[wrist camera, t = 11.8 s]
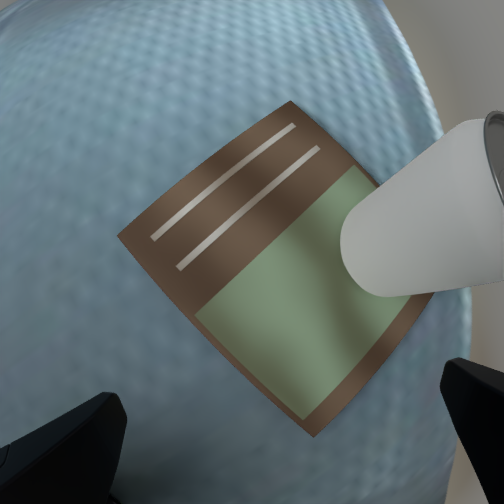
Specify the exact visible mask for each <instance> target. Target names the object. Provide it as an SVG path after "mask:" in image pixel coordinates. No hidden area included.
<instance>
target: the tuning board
mask: <svg viewBox="0 0 504 504" xmlns="http://www.w3.org/2000/svg"><path fill="white" fill-rule="evenodd" d="M378 187H380V186H379V184H378V183H377V182H376V181H375V180H374V179H373V178H372V177H371V176H370V175H369V174H368V173H367V172H366V171H365V170H364V169H363V167H362V166H361V165H360V164H359V163H358V162H357V161H356V160H355V159H354V158H353V157H352V156H351V155H350V154H349V153H348V152H347V151H346V150H345V149H344V148H343V147H342V146H341V145H339V144H338V143H337V142H336V141H335V140H334V139H333V138H332V137H331V136H330V135H329V134H328V133H327V132H326V131H325V130H324V129H322V128H321V127H320V126H319V125H318V124H317V123H316V122H315V121H314V120H313V119H311V118H310V117H309V116H308V115H307V114H306V113H305V112H303V111H302V110H301V109H300V108H299V107H298V106H296V105H295V104H294V103H293V102H292V101H291V100H290V101H289V102H287V103H286V104H284V105H283V106H281V107H280V108H278V109H277V110H275V111H274V112H272V113H271V114H269V115H268V116H266V117H265V118H263V119H262V120H260V121H259V122H257V123H256V124H254V125H253V126H252V127H250V128H249V129H247V130H246V131H245V132H243V133H242V134H240V135H239V136H238V137H236V138H235V139H233V140H232V141H231V142H229V143H228V144H227V145H225V146H224V147H223V148H221V149H220V150H219V151H217V152H216V153H215V154H213V155H212V156H211V157H209V158H208V159H207V160H205V161H204V162H203V163H202V164H200V165H199V166H198V167H196V168H195V169H194V170H193V171H191V172H190V173H189V174H188V175H186V176H185V177H184V178H183V179H181V180H180V181H179V182H178V183H176V184H175V185H174V186H173V187H172V188H170V189H169V190H168V191H167V192H166V193H164V194H163V195H162V196H161V197H160V198H159V199H157V200H156V201H155V202H154V203H153V204H152V205H150V206H149V207H148V208H147V209H146V210H145V211H143V212H142V213H141V214H140V215H139V216H138V217H137V218H136V219H134V220H133V221H132V222H131V223H130V224H129V225H128V226H127V227H126V228H125V229H123V230H122V231H121V232H120V233H119V234H118V235H117V237H118V238H119V239H120V240H121V242H122V243H123V244H124V245H125V247H126V248H127V249H128V250H129V252H130V253H131V254H132V255H133V257H134V258H135V259H136V260H137V261H138V263H139V264H140V265H141V266H142V267H143V269H144V270H145V271H146V272H147V273H148V274H149V276H150V277H151V278H152V279H153V280H154V281H155V283H156V284H157V285H158V286H159V287H160V288H161V290H162V291H163V292H164V293H165V294H166V295H167V296H168V297H169V299H170V300H171V301H172V302H173V303H174V304H175V305H176V306H177V307H178V309H179V310H180V311H181V312H182V313H183V314H184V315H185V316H186V317H187V318H188V319H189V320H190V322H191V323H192V324H193V325H194V326H195V327H196V328H197V329H198V330H199V331H200V332H201V333H202V334H203V335H204V336H205V337H206V338H207V339H208V340H209V341H210V343H211V344H212V345H213V346H214V347H215V348H216V349H217V350H218V351H219V352H220V353H221V354H222V355H223V356H224V357H225V358H226V359H227V360H228V361H229V362H230V363H231V364H232V365H233V366H234V367H235V368H237V369H238V370H239V371H240V372H241V373H242V374H243V375H244V376H245V377H246V378H247V379H248V380H249V381H250V382H251V383H252V384H253V385H254V386H255V387H256V388H258V389H259V390H260V391H261V392H262V393H263V394H264V395H265V396H266V397H267V398H268V399H270V400H271V401H272V402H273V403H274V404H275V405H276V406H277V407H278V408H280V409H281V410H282V411H283V412H284V413H285V414H286V415H288V416H289V417H290V418H291V419H292V420H293V421H294V422H296V423H297V424H298V425H299V426H300V427H302V428H303V429H304V430H305V431H306V432H307V433H309V434H310V435H311V436H312V437H315V436H316V435H317V434H318V433H319V432H320V431H321V430H322V429H323V428H324V427H325V426H326V425H327V424H329V423H330V422H331V421H332V420H333V419H334V418H335V417H336V415H337V414H338V413H339V412H340V411H341V410H342V409H343V408H344V407H345V406H346V405H347V404H348V403H349V402H350V401H351V400H352V399H353V398H354V397H355V395H356V394H357V393H358V392H359V391H360V390H361V389H362V388H363V387H364V385H365V384H366V383H367V382H368V381H369V380H370V379H371V377H372V376H373V375H374V374H375V373H376V371H377V370H378V369H379V368H380V367H381V365H382V364H383V363H384V362H385V361H386V359H387V358H388V357H389V356H390V354H391V353H392V352H393V350H394V349H395V348H396V347H397V345H398V344H399V343H400V341H401V340H402V339H403V337H404V336H405V335H406V333H407V332H408V331H409V329H410V328H411V326H412V325H413V324H414V322H415V321H416V319H417V318H418V317H419V315H420V314H421V312H422V311H423V309H424V308H425V306H426V305H427V303H428V302H429V300H430V299H431V297H432V296H433V294H434V293H435V292H430V293H423V294H415V295H406V296H397V297H380V296H376V295H373V294H371V293H369V292H367V291H365V290H364V289H362V288H361V287H360V286H359V285H358V284H357V283H356V282H355V281H354V279H353V278H352V277H351V275H350V274H349V272H348V271H347V269H346V267H345V265H344V262H343V260H342V255H341V248H340V235H341V229H342V226H343V223H344V221H345V218H346V217H347V215H348V214H349V212H350V211H351V210H352V209H353V208H354V207H355V206H356V205H357V204H358V203H360V202H361V201H362V200H363V199H365V198H366V197H367V196H368V195H370V194H371V193H372V192H373V191H375V190H376V189H377V188H378Z"/></svg>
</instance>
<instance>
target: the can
mask: <svg viewBox="0 0 504 504" xmlns="http://www.w3.org/2000/svg"><path fill="white" fill-rule="evenodd" d="M340 248H341V255H342V260H343V262H344V265H345V267H346V269H347V271H348V272H349V274H350V275H351V277H352V278H353V279H354V281H355V282H356V283H357V284H358V285H359V286H360V287H361V288H362V289H364V290H365V291H367V292H369V293H371V294H373V295H376V296H380V297H397V296H406V295H415V294H423V293H430V292H438V291H445V290H452V289H458V288H465V287H471V286H477V285H483V284H489V283H494V282H499V281H504V112H501V111H493V112H491V113H489V114H488V115H487V117H486V119H473V120H468V121H464V122H462V123H460V124H459V125H457V126H455V127H454V128H453V129H452V130H450V131H449V132H447V133H446V134H445V135H444V136H442V137H441V138H440V139H439V140H437V141H436V142H435V143H434V144H432V145H431V146H430V147H429V148H427V149H426V150H425V151H424V152H422V153H421V154H420V155H419V156H417V157H416V158H415V159H414V160H412V161H411V162H410V163H409V164H407V165H406V166H405V167H404V168H402V169H401V170H400V171H399V172H397V173H396V174H395V175H394V176H392V177H391V178H390V179H388V180H387V181H386V182H385V183H383V184H382V185H381V186H380V187H378V188H377V189H376V190H375V191H373V192H372V193H371V194H370V195H368V196H367V197H366V198H365V199H363V200H362V201H361V202H360V203H358V204H357V205H356V206H355V207H354V208H353V209H352V210H351V211H350V212H349V214H348V215H347V217H346V218H345V221H344V223H343V226H342V229H341V235H340Z"/></svg>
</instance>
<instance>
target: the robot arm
mask: <svg viewBox="0 0 504 504" xmlns="http://www.w3.org/2000/svg"><path fill="white" fill-rule="evenodd" d="M440 391H441V394H442V396H443V399H444V401H445V404H446V406H447V409H448V411H449V414H450V417H451V419H452V422H453V425H454V427H455V430H456V432H457V434H458V436H459V438H460V440H461V443H462V445H463V446H464V449H465V451H466V453H467V455H468V457H469V459H470V461H471V463H472V466H473V468H474V470H475V472H476V474H477V477H478V479H479V481H480V483H481V486H482V488H483V490H484V493H485V495H486V498H487V500H488V503H489V504H504V373H503V372H500V371H497V370H494V369H491V368H488V367H486V366H483V365H480V364H477V363H474V362H471V361H469V360H466V359H463V358H460V357H458V358H454V359H451V360H448V361H447V362H446V364H445V367H444V371H443V375H442V378H441V382H440ZM126 425H127V415H126V412H125V410H124V408H123V406H122V403H121V401H120V399H119V396H118V395H117V394H116V393H111V392H102V393H100V394H98V395H97V396H95V397H93V398H91V399H90V400H88V401H86V402H85V403H83V404H81V405H79V406H78V407H76V408H74V409H72V410H71V411H69V412H67V413H65V414H63V415H62V416H60V417H58V418H56V419H54V420H53V421H51V422H49V423H47V424H45V425H44V426H42V427H40V428H38V429H36V430H34V431H33V432H31V433H29V434H27V435H25V436H23V437H21V438H19V439H18V440H16V441H14V442H12V443H11V444H8V445H6V446H4V447H2V448H0V504H121V503H119V502H118V501H117V500H116V499H114V498H113V497H112V496H111V495H110V494H109V492H110V489H111V485H112V482H113V479H114V476H115V473H116V470H117V466H118V462H119V458H120V453H121V448H122V443H123V438H124V434H125V429H126Z"/></svg>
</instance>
